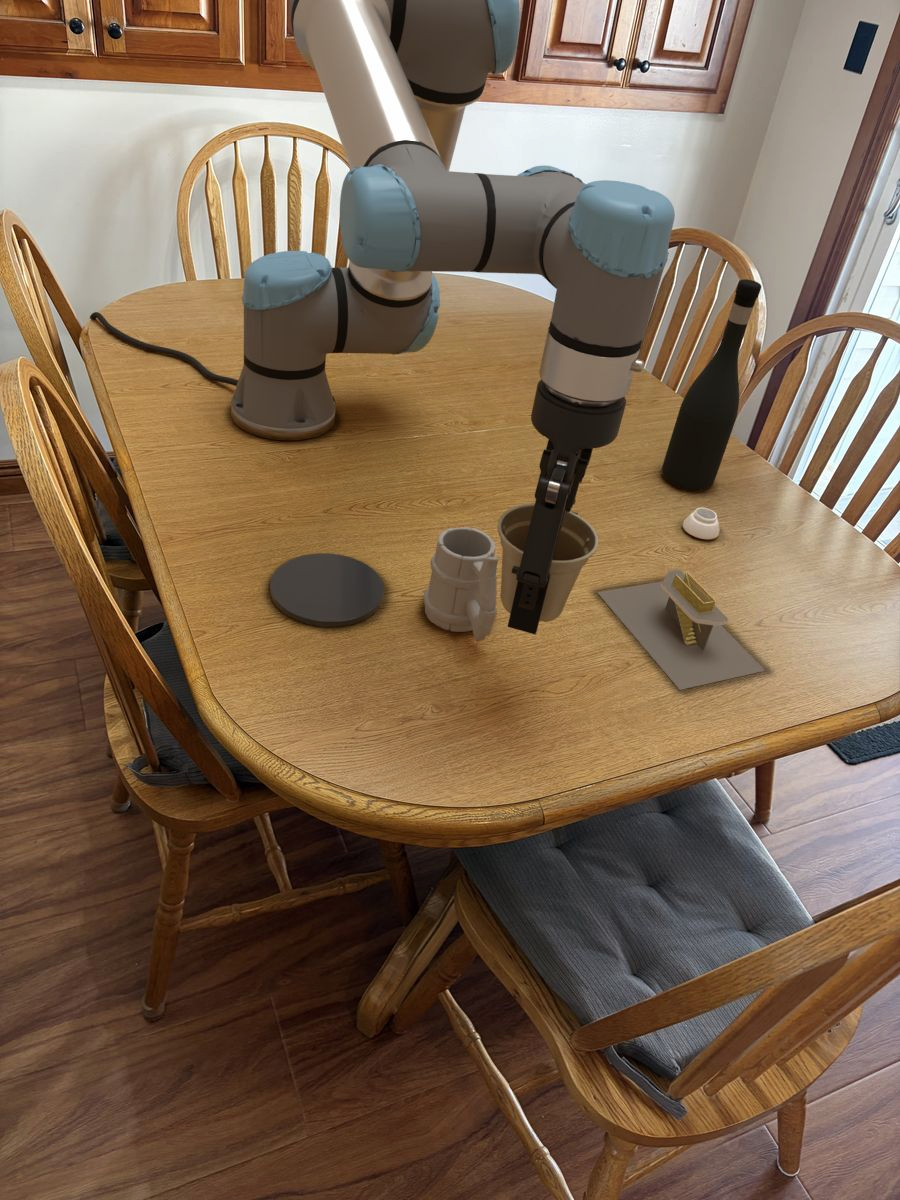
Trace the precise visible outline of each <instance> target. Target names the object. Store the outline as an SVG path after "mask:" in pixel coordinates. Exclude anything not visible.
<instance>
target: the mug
mask: <svg viewBox="0 0 900 1200" xmlns="http://www.w3.org/2000/svg"><path fill="white" fill-rule="evenodd" d="M495 555H496V543H495V541H494V539H493V538H492V537H490V536H489V535H488V534H487V533H485V532H484V531H483V530H480V529H478V528H475V527H469V526H468V527H467V526H461V527H450V528H447V529H445V530H443V531H442V532H441V533H440V534H439V535H438V538H437V541H436V549H435V553H434V554H433V555H432V556H431V558H430V561H429V562H430V570H431V574H430V577H429V579H430V580H429V584H428V586H427V588H426V589H425V590H424V592H423V604H424V613H425V616H426V617H427V619H428V620H429V621H430V622H431V623H432V624H434V625H435V626H437V627H439V628H441V629H443V630H445V631H450V632H455V633H465V632H466V633H467V632H471V631H472V634H473V637H474V640H475V641H476V642H481V641H482V642H483V641H484V640H485V639H486V638H487V637H488V636H490V635H491V633H492V631H493V628H494V624H495V621H496V617H497V614H498V609H497V607H496V606H497V594H498V590H497V589H498V583H497V582H498V581H497V579H498V577H497V571H498V562H499V557H498V556H495Z"/></svg>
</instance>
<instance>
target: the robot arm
mask: <svg viewBox="0 0 900 1200" xmlns="http://www.w3.org/2000/svg"><path fill="white" fill-rule="evenodd" d="M520 12H521V11H520V0H289V11H288V13H289V21H290V22H289V23H290V29H291V31H292V35H293V39H294V41H295V44H296V47H297V49H298V52H299V54H300V55H301V57H302V59H303V60H304V62H306V64H307V65H308V66H309V67H310V68H312V69H313V70H314V71H316V74H317V77H318V79H319V82H320V85H321V88H322V91H323V94H324V97H325V101H326V102H327V105H328V108H329V111H330V114H331V117H332V120H333V122H334V126H335V128H336V131H337V135H338V137H339V140H340V143H341V145H342V149H343V152H344V155H345V158H346V160H347V163H348V167H349V169H350V170H349V171H348V172H347V173H346V175H345V177H344V179H343V181H342V185H341V190H340V197H339V228H340V233H341V245H342V249H343V252H344V254H345V256H346V258H347V259H348V267H332V265H331V262H330V260H329V259H328V258H327V257H326V256H324V255H322V254H320V253H317V252H308V251H306V250H286V251H277V252H273V253H269V254H265V255H263V256H260V257H259V258H257V259H255V260H253V261H252V262H251V263H249V265H248V267H247V268H246V270H245V272H244V277H243V290H242V296H241V302H242V306H243V366H242V369H241V372H240V375H239V377H238V379H236V378H232V377H228V376H224V375H220V374H216V373H213V372H212V371H210V370H208V368H206V367H205V366H204V365H203V364H202V363H201V362H200V361H199V360H197V359H196V358H195V357H193V356H192V355H190V354H188V353H185V352H182V351H180V350H177V349H173V348H168V347H163V346H159V345H155V344H151V343H148V342H145V341H142V340H139V339H136V338H134V337H132V336H130V335H128V334H126V333H124V332H123V331H121V330H119V329H118V328H116V327H115V326H113V325H112V324H110V323H109V322H108V320H107V319H106V318H105V316H104V315H103V314H102V313H100V311H99V312H98V311H94V312H92V313H91V314H90V316H89V319H90V320H96V319H97V320H98V321H99V322H100V323H101V325H102V326H103V327H104V328H105V329H106V330H107V331H108V332H110V333H111V334H113V335H115V336H116V337H118V338H120V339H121V340H123V341H125V342H126V343H128V344H129V343H130V344H131V345H133V346H135V347H138V348H141V349H144V350H148V351H151V352H155V353H160V354H164V355H169V356H173V357H176V358H179V359H182V360H185V361H186V362H188V363H189V364H192V365H193V366H194V368H196V369H197V370H198V371H199V372H200V373H201V374H202V375H204V376H205V377H206V378H207V379H211V380H212V381H214V382H218V383H222V384H223V383H224V384H228V385H231V386H234V387H235V389H234V392H233V394H232V398H231V401H230V415H231V419H232V421H233V422H234V424H235V425H237V426H238V427H239V428H240V429H241V430H243V431H245V432H247V433H249V434H252V435H254V436H256V437H257V436H258V437H261V438H263V439H264V438H265V439H269V440H277V441H301V440H308V439H313V438H316V437H318V436H322V435H324V434H325V433H327V432H328V431H329V430H331V429H332V428H333V426H334V424H335V420H336V404H337V403H336V400H335V397H334V396H333V394H332V390H331V387H330V383H329V380H328V375H327V372H326V361H327V355H328V354H370V355H371V354H377V355H379V354H381V355H401V354H406V353H407V354H408V353H409V354H410V353H416V352H419V351H422V350H423V349H424V348H425V347H427V346H428V344H429V343H430V341H431V339H432V338H433V336H434V333H435V331H436V328H437V326H438V321H439V312H438V311H439V309H440V305H441V293H440V287H439V286H440V285H439V283H438V280H437V278H436V276H435V275H434V274H433V272H435V273H436V272H444V273H445V272H446V273H447V272H448V273H455V272H457V273H460V272H461V273H479V274H481V273H482V274H484V273H485V274H516V275H517V274H521V275H523V274H524V275H539V276H541V277H543V278H544V279H545V280H546V281H547V282H548V283H549V284H550V285H551V286H552V287H554V288H555V289H556V291H555V296H554V302H553V306H552V307H553V308H552V312H551V319H550V321H549V326H548V327H547V332H546V337H545V342H544V346H543V352H542V356H541V362H540V366H539V372H538V373H539V377H540V380H538V382H537V385H536V390H535V394H534V399H533V404H532V408H531V414H530V421H531V424H532V426H533V428H534V429H535V431H537V432H538V433H539V434H540V435H541V436H542V437H545V438H546V439H548V440H547V443H546V448H545V449H543V451H542V454H541V457H540V462H539V465H538V467H539V469H540V473H539V476H538V481H537V484H536V488H535V492H534V498H535V501H534V504H535V506H534V510H533V514H532V518H531V522H530V526H529V530H528V535H527V539H526V543H525V547H524V551H523V555H522V559H521V564H520V567H518V566H514V567H513V568H512V573H513V574H516V576H517V578H516V579H517V581H518V582H517V586H516V591H515V595H514V600H513V604H512V609H511V613H509V619H508V623H507V627H508V628H510V629H514V630H517V631H521V632H525V633H528V634H531V635H536V634H537V632H538V628H539V624H540V621H539V620H540V616H541V612H542V608H543V604H544V600H545V596H546V592H547V588H548V584H549V580H550V576H551V575H550V574H549V571H550V568H551V563H552V560H553V557H554V553H555V549H556V546H557V542H558V538H559V535H560V531H561V527H562V524H563V520H564V516H565V513H566V512H573V513H575V514H577V515H579V512H575V511H572V508H573V506H574V505H576V501H577V499H576V498H577V494H578V490H579V487H580V484H581V483H582V482H583V479H584V478H585V475H586V472H587V468H588V466H589V464H590V461H591V457H592V455H593V450H594V449H599V448H603V447H606V446H608V445H610V444H611V443H613V442H614V441H615V440H616V439H617V437H618V435H619V432H620V428H621V424H622V421H623V416H624V414H625V409H626V406H627V398H626V397H625V396H627V395H628V394H629V391H630V389H631V386H632V385H631V384H632V381H633V377H634V373H641V372H642V371H644V369H645V362H644V360H642V359H639V358H638V356H639V355H640V350H641V347H642V344H643V341H644V339H645V335H646V333H647V329H648V325H649V321H650V318H651V314H652V310H653V307H654V305H655V300H656V297H657V294H658V290H659V286H660V283H661V279H662V277H663V276H662V275H663V273H664V269H665V267H666V264H667V263H668V260H669V259H668V258H669V254H670V253H669V244H670V240H671V236H672V231H673V227H674V222H675V218H676V217H675V216H676V212H675V208H674V206H673V203H672V201H670V199H669V198H668V197H667V196H666V195H664V194H662V193H661V192H659V191H656V190H651V189H649V188H647V187H645V186H642V185H640V184H636V183H632V182H625V181H619V180H606V179H605V180H594V181H591V182H587V183H585V182H583V180H582V179H581V178H580V177H575V175H574V174H573V173H572V172H569V171H566V170H562V169H561V168H558V167H555V166H551V165H535V166H532V167H530V168H528V169H525V170H524V171H523V172H519V173H518V174H517V175H509V174H508V175H507V174H490V173H482V172H481V173H480V172H465V171H452V170H451V171H450V169H451V165H452V161H453V157H454V154H455V150H456V145H457V142H458V137H459V134H460V131H461V126H462V122H463V119H464V115H465V114H464V113H465V110H466V107H467V106H470V105H473V104H474V103H476V102H477V101H478V100H479V99H481V97H482V96H483V94H484V90H485V87H486V83H487V80H488V76H489V74H490V73H491V74H492V75H493V76H498V75H499V74H503V73H505V72H507V71H508V69H509V68H511V66H512V64H513V61H514V59H515V55H516V51H517V46H518V41H519V32H520V15H521V14H520ZM637 358H638V359H637Z"/></svg>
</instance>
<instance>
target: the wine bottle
mask: <svg viewBox="0 0 900 1200" xmlns="http://www.w3.org/2000/svg"><path fill="white" fill-rule="evenodd" d="M735 288H736V289H735V291H734V293H735V295H734V298H733V303H732V306H731V308H730V313H729V316H728V319H727V322H726V325H725V329H724V331H723V335H722V338H721V341H720V343H719V345H718V347H717V350H716V351H715V352H714V355H713V356H712V357H711V359H710V361H708V363H707V364H706V366H705V367H704V368H703V369H702V371H701V372H700V373H699V374H698V375H697V377H696V378H695V379H694V381H693V382H692V383H691V385H690V386H689V388H688V390H687V392H686V394H685V395H684V397H683V399H682V402H681V404H680V407H679V410H678V413H677V417H676V420H675V423H674V427H673V430H672V433H671V436H670V438H669V439H670V440H669V443H668V447H667V449H666V452H665V456H664V460H663V462H662V466H661V471H662V476H663V477H664V479H665V480H666V481H667V482H668V483H670V484H671V485H673V486H674V487H676V488H679V489H682V490H686V491H689V492H701V491H705V490H708V489H709V488H711V487H712V486H713V485H714V483H715V481H716V478H717V475H718V472H719V470H720V466H721V464H722V461H723V458H724V455H725V452H726V450H727V446H728V444H729V442H730V441H729V440H730V439H731V435H732V432H733V429H734V426H735V423H736V420H737V418H738V412H739V407H740V385H739V384H740V383H739V354H740V349H741V346H742V342H743V339H744V336H745V334H746V330H747V327H748V324H749V321H750V318H751V315H752V312H753V309H754V307H755V304H756V301H757V299H758V298H759V295H760V293H761V290H762V285H761V283H760V282H758V281H756V280H752V279H747V278H742V279H740V280H739V281H738V283H737V285H736V287H735Z"/></svg>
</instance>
